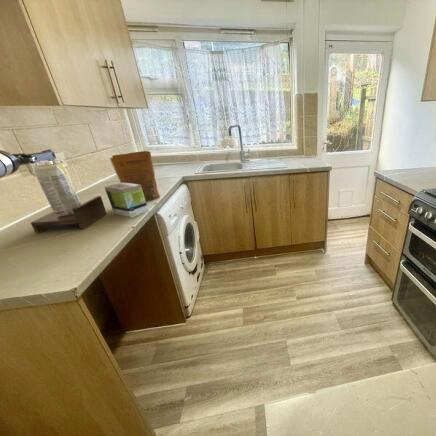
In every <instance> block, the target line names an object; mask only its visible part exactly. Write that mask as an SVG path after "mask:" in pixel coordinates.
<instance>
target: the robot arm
mask: <svg viewBox="0 0 436 436" xmlns="http://www.w3.org/2000/svg"><path fill="white" fill-rule="evenodd" d="M56 159H57V156H56V153H55V151H54V150H52V149H49V148H48V149H46V150H42V151H41V152H34V153H10V152H8V151H5V150H2V149H0V179H1V178H5V177H7V176H9V175H12V174H14V173H17V171H18V170H19V168H20V166H24V165H28V164H32V165H33V164H36V163H39V162H48V161H52V160H56ZM52 162H53V161H52Z"/></svg>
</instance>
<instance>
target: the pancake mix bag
mask: <svg viewBox="0 0 436 436" xmlns="http://www.w3.org/2000/svg"><path fill="white" fill-rule="evenodd" d="M109 159H110V163H111V165H112V167H113V169H114V172H115V174H116V176H117V178H118V180H119V183H123V182H125V183H133V184H140V185H141V187H142V191H143V194H144V197H145V200H146V202H147V201H152V200H157V199H159V198H161V195H160V193H159V190H158V186H157V185H158V184H157V181H156V176H155V168H154V164H153V158H152V152H151V151H149V150H143V151H135V152H133V151H132V152H129V153H121V154H114V155H112V156H111V157H109Z"/></svg>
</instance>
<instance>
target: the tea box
mask: <svg viewBox="0 0 436 436" xmlns="http://www.w3.org/2000/svg"><path fill="white" fill-rule="evenodd" d="M104 190H105V193H106V195H107V199H108V201H109V205H110V207H111V209H112V211H113V214H116V215H119V216H123V217H127V218H130V219H132V218H135V217H138V216H140V215H142V214H144V213H147V212H149V207H148V204H147V201H146V200H145V197H144V194H143V191H142V187H141V185H140V184H133V183H125V182H123V183H121V182H119V183H115V184H111V185H107V186H104Z"/></svg>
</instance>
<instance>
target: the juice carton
mask: <svg viewBox="0 0 436 436" xmlns="http://www.w3.org/2000/svg"><path fill="white" fill-rule="evenodd" d="M43 163H44V164H37V165H36V166H33V171H34V174H35V177H36V179H37V181H38V183H39V185H40V187H41V189H42V191H43V194H44V195H45V197H46V199H47V201H48V203H49V205H50V207H51V209H52V212H55V214H56V215H57V216H58V217H60V216H66V215H72V214H74V212H73V210H72V209H74V208H76V207H78V206H80V205H81V204H82V203H81V200H80V198H79V196H78V194H77V191H76V189H75V187H74V184H73V182H72V180H71V177H70V174H69V172H68V171H67V168H66V167H65V166H64V164H63V163H62V162H56V163H53V161H48V160H47V161H43Z"/></svg>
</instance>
